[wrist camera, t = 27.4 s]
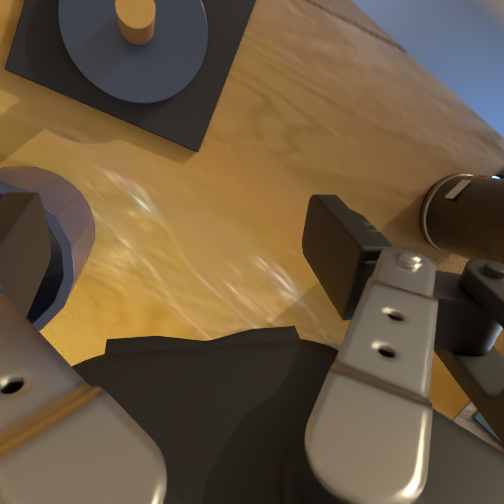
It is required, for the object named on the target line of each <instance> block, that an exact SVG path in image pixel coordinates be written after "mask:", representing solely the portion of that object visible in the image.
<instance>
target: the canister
mask: <svg viewBox="0 0 504 504" xmlns="http://www.w3.org/2000/svg"><path fill="white" fill-rule="evenodd" d="M7 192H38V193H39V195H40V196H41V199H42V203H43V208H44V214H45V219H46V224H47V229H48V234H49V240H50V247H51V256H50V262H49V265H48V267H47V270H46V272H45V274H44V277H43V279H42V282H41V284H40V286H39V289H38V291H37V293H36V296H35V298H34V300H33V303H32V305H31V307H30V310H29V312H28V314H27V317H26V318H27V319H28V320H29V321H30V323H31V324H32V325H33V326H34V327H35V328H36V329H37V330H38V331H40V330H41V329H43V328H44V327H45V326H46V325H47V324H48V323H49V322H50V321H51V320H52V319H53V317H54V316H55V315H56V314H57V313H58V312H59V311H60V310H61V309H62V308H63V307H64V306H65V304H66V302H67V300H68V298H69V296H70V294H71V292H72V289H73V287H74V285H75V283H76V281H77V279H78V277H79V275H80V273H81V271H82V269H83V267H84V265H85V263H86V261H87V259H88V256H89V254H90V251H91V249H92V246H93V243H94V240H95V224H94V218H93V214H92V211H91V209H90V207H89V205H88V203H87V201H86V200H85V198H84V197H83V195H82V194H81V193H80V192H79V191H78V190H77V189H76V188H75V187H74V186H73V185H72V184H71V183H70V182H68V181H67V180H65V179H64V178H63V177H61V176H59V175H57V174H54V173H52V172H50V171H46V170H43V169H40V168H36V167H4V168H0V200H1V199H2V197H3V196H4V195H5V194H6V193H7Z"/></svg>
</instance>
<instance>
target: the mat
mask: <svg viewBox="0 0 504 504" xmlns="http://www.w3.org/2000/svg"><path fill="white" fill-rule="evenodd" d="M201 1H202V4H203V7H204V10H205V14H206V19H207V25H208V43H207V49H206V54H205V58H204V61H203V63H202V66H201V68H200V70H199V72H198V73H197V75H196V76H195V78H194V79H193V81H192V82H191V83H190V84H189V85H188V86H187V87H186V88H185V89H184V90H183V91H181V92H180V93H178V94H177V95H175V96H174V97H172V98H169V99H167V100H164V101H161V102H158V103H151V104H136V103H129V102H126V101H122V100H119V99H116V98H114V97H111V96H110V95H108V94H106V93H104V92H102V91H101V90H100V89H98V88H97V87H95V86H94V85H93V84H92V83H91V82H90V81H88V80H87V79H86V78H85V76H84V75H83V74H82V73H81V72H80V71H79V70H78V68H77V67H76V65H75V64H74V62H73V61H72V59H71V57H70V56H69V54H68V52H67V50H66V47H65V45H64V42H63V40H62V36H61V32H60V28H59V21H58V3H59V0H25V3H24V6H23V9H22V13H21V16H20V19H19V23H18V26H17V29H16V33H15V36H14V39H13V43H12V46H11V50H10V53H9V56H8V60H7V63H6V66H5V69H6V70H8V71H10V72H12V73H15V74H17V75H19V76H22V77H24V78H26V79H29V80H31V81H33V82H36V83H38V84H40V85H43V86H45V87H47V88H49V89H52V90H54V91H56V92H59V93H61V94H63V95H66V96H68V97H70V98H73V99H75V100H77V101H80V102H82V103H84V104H87V105H89V106H91V107H94V108H96V109H98V110H101V111H103V112H105V113H108V114H110V115H112V116H115V117H117V118H119V119H121V120H124V121H126V122H128V123H131V124H133V125H135V126H138V127H140V128H142V129H145V130H147V131H149V132H152V133H154V134H156V135H159V136H161V137H163V138H166V139H168V140H170V141H173V142H175V143H177V144H180V145H182V146H184V147H187V148H189V149H191V150H193V151H196V152H199V149H200V147H201V144H202V141H203V139H204V136H205V133H206V131H207V128H208V126H209V123H210V120H211V118H212V115H213V112H214V110H215V107H216V105H217V102H218V99H219V97H220V94H221V91H222V89H223V86H224V83H225V81H226V78H227V76H228V73H229V70H230V68H231V65H232V62H233V60H234V57H235V55H236V52H237V49H238V47H239V44H240V41H241V39H242V36H243V34H244V31H245V28H246V26H247V23H248V20H249V18H250V15H251V12H252V10H253V7H254V5H255V2H256V0H201Z"/></svg>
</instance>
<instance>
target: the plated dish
mask: <svg viewBox="0 0 504 504" xmlns="http://www.w3.org/2000/svg"><path fill="white" fill-rule="evenodd" d="M453 421H454V422H455V423H457V424H459V425H460V426H462V427H463V428H465V429H467V430H468V431H470V432H471V433H473V434H475V435H476V436H478V437H479V438H481V439H483V440H484V441H486V442H487V443H489V444H491V445H492V446H494V447H495V448H497V449H499V450H500V451H502V452H503V453H504V445H503V444H502V442H501V441H500V439H499V438H498V437H497V435H496V434H495V433H494V431H493V430H492V429H491V427H490V426H489V425H488V423H487V422H486V420H485V419H484V418H483V416H482V415H481V414H480V412H479V411H478V410H477V408H476V407H475V406H474V404H473V403H472V401H471V402H470V403H469V404H468V405H467V406H466V407H465V408H464V409H463V410H462V411H461V412H460V413H459V414H458V416H457V417H456V418H455V419H454V420H453Z"/></svg>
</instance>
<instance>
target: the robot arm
mask: <svg viewBox="0 0 504 504" xmlns="http://www.w3.org/2000/svg"><path fill="white" fill-rule="evenodd" d="M496 175H497V177H495V176H493V177H492V176H473V175H469V174H453V175H450V176H447V177H445V178H443V179H442V180H440V181H439V182H438V183H437V184H436V185H434V187H433V188H432V189H431V190H430V191H429V193H428V195H427V196H426V198H425V200H424V203H423V205H422V209H421V215H420V225H421V230H422V233H423V236H424V238H425V239H426V241H427V242H428V243H429V244H430V245H431V246H432V247H434V248H436V249H438V250H441V251H444V252H449V253H452V254H455V255H458V256H461V257H463V258H466V259H469V261H468V262H467V263H466V266H465V268H464V270H463V273H462V274H456V273H449V272H443V271H436V264H435V262H434V261H433V260H432V259H431V258H430V257H428V256H427V255H425V254H423V253H421V252H419V251H417V250H414V249H410V248H406V247H398V246H393V245H392V244H391V243H390V242H389V241H388V240H387V239H386V238H385V237H384V236H383V235H382V234H381V233H380V232H378V230H377V229H376V228H375V227H374V226H373V225H371V223H370V222H369V221H368V220H367V219H366V218H365V217H364V216H362V215H360V214H359V213H357V212H355V211H353V210H351V209H349V208H348V207H347V206H346V205H345V204H344V203H343V202H342V201H341V199H340V198H339V197H338V196H336V195H312V196H311V198H310V200H309V204H308V210H307V215H306V221H305V227H304V232H303V238H302V249H303V254H304V256H305V258H306V260H307V262H308V263H309V265H310V267H311V268H312V270H313V272H314V273H315V275H316V277H317V278H318V280H319V282H320V283H321V285H322V287H323V288H324V290H325V292H326V293H327V295H328V296H329V298H330V300H331V301H332V303H333V305H334V306H335V308H336V310H337V311H338V313H339V315H340V316H341V318H342V320H351V322H350V325H349V327H348V330H347V332H346V335H345V337H344V340H343V342H342V345H341V347H340V349H339V350H337V349H334V348H332V347H329V346H327V345H324V344H321V343H317V342H314V341H309V340H303V339H300V337H299V335H298V333H297V331H296V328H295V326H289V327H275V328H261V329H251V330H247V331H243V332H240V333H236V334H232V335H229V336H225V337H221V338H217V339H214V340H209V341H199V340H190V339H181V338H172V337H163V336H148V337H134V338H119V339H107V342H106V349H105V354H103V355H100V356H96V357H93V358H91V359H88V360H85V361H83V362H81V363H78V364H76V365H74V366H72V367H71V366H70V365H69V363H68V362H67V361H66V360H65V359H64V358H63V357H62V356H61V355H60V354H59V353H58V352H57V351H56V349H55V348H54V347H53V346H52V345H51V344H50V343H49V342H48V341H47V340H46V339H45V338H44V337H43V335H42V334H41V333H40V332H39V331H38V330H37V329H36V328H35V327H34V326H33V325H32V324H31V323H30V321H29V320H28V319H27V318H26V317H27V314H28V312H29V310H30V307H31V305H32V303H33V300H34V298H35V296H36V293H37V291H38V289H39V286H40V284H41V282H42V279H43V277H44V274H45V272H46V270H47V267H48V265H49V262H50V256H51V247H50V240H49V234H48V229H47V224H46V219H45V214H44V208H43V203H42V199H41V196H40V195H39V193H38V192H7V193H6V194H5V195H4V196H3V197H2V199H1V200H0V504H504V453H503V452H502V451H500V450H499V449H497V448H495V447H494V446H492V445H491V444H489V443H487V442H486V441H484V440H483V439H481V438H479V437H478V436H476V435H475V434H473V433H471V432H470V431H468V430H467V429H465V428H463V427H462V426H460V425H459V424H457V423H455V422H454V421H452V420H451V419H449V418H447V417H446V416H444V415H443V414H441V413H439V412H438V411H436V410H435V409H433V408H432V404H431V403H430V402H429V390H430V380H431V370H432V360H433V350H434V351H435V353H436V354H437V355H438V357H439V358H440V359H441V361H442V362H443V363H444V365H445V366H446V368H447V369H448V370H449V372H450V373H451V374H452V376H453V377H454V378H455V380H456V381H457V382H458V384H459V385H460V387H461V388H462V389H463V391H464V392H465V393H466V395H467V396H468V397H469V399H470V400H471V401H472V403H473V404H474V406H475V407H476V408H477V410H478V411H479V412H480V414H481V415H482V416H483V418H484V419H485V420H486V422H487V423H488V425H489V426H490V427H491V429H492V430H493V431H494V433H495V434H496V435H497V437H498V438H499V439H500V441H501V442H502V444H503V445H504V358H503V356H502V355H501V354H500V353H499V352H498V351H497V350H496V349H495V348H494V347H493V345H494V343H495V341H496V339H497V337H498V335H499V333H500V332H501V330H502V328H503V329H504V171H502V172H500V173H498V174H496Z"/></svg>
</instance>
